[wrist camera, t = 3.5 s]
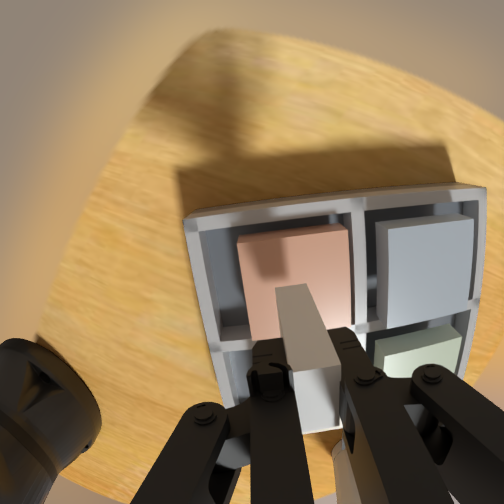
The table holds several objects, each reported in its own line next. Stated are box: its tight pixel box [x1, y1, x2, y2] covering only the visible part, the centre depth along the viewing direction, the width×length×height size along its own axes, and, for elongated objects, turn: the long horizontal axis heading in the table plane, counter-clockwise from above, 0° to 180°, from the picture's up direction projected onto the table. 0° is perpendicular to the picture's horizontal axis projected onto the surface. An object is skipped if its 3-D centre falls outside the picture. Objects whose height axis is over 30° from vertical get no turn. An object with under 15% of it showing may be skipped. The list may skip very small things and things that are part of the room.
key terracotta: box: [237, 223, 351, 341], centre depth 19 cm, size 6×6×2 cm
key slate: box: [375, 213, 474, 329], centre depth 17 cm, size 6×6×2 cm
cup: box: [332, 440, 361, 504], centre depth 23 cm, size 8×8×12 cm
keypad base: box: [183, 182, 487, 409], centre depth 22 cm, size 20×17×4 cm
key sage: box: [374, 323, 462, 378], centre depth 19 cm, size 6×6×2 cm
